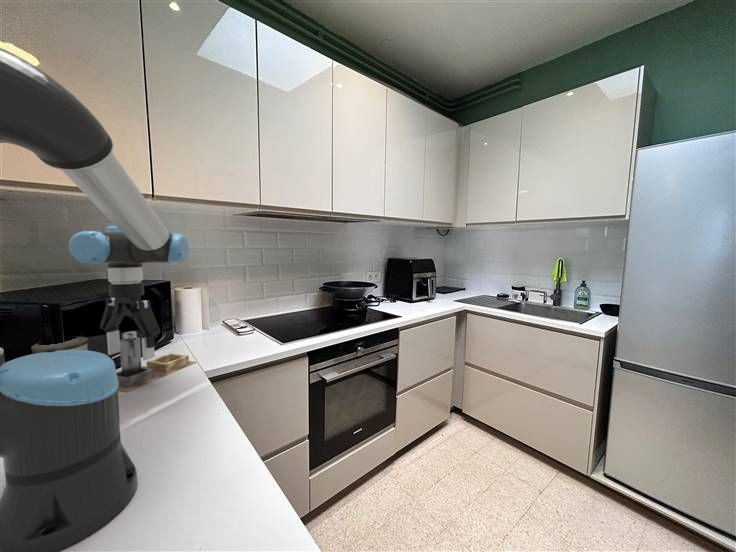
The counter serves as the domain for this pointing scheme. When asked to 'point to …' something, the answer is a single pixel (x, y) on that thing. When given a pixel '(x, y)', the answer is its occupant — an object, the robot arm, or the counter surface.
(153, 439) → the counter surface
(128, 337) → the grey cylinder
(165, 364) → the tool stand
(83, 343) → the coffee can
